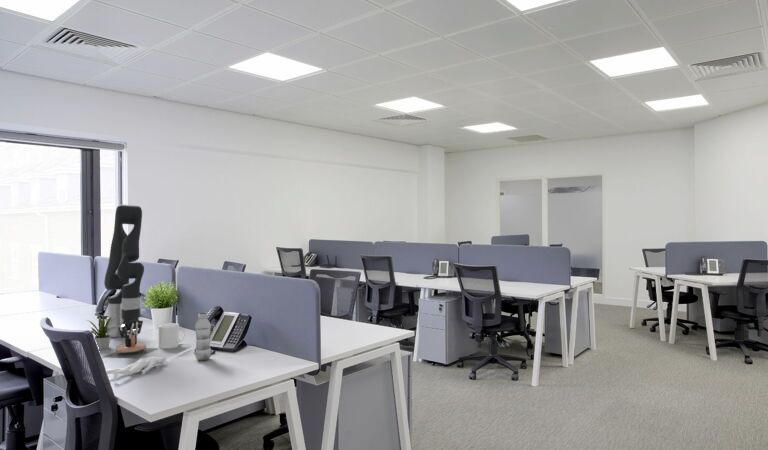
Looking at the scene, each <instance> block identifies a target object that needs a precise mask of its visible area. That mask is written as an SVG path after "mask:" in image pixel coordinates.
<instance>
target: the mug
mask: <svg viewBox="0 0 768 450" xmlns="http://www.w3.org/2000/svg"><path fill="white" fill-rule="evenodd" d="M179 325H180V324H179V323H176V322H175V323H174V322H173V323H171V322H170V323H164V324H160V325H158V349H164V350H169V349H173V348H177V347H179V344H180V343H181V342H183V341H184V339H185V336H186V335H185V334H186V333H185V329H184V328H183V327H181V326H179ZM179 331H182V332H183V336H182V337H181V338H180V337H179V336H180V335H179V334H180V333H179ZM179 338H180V339H179Z"/></svg>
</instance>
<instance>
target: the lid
mask: <svg viewBox="0 0 768 450" xmlns="http://www.w3.org/2000/svg"><path fill="white" fill-rule="evenodd" d="M145 348H147V344H146V343H144V342H137V344H136V345H135V334H131V347H126V346H125V343H123V344H120V345H118V346H116V347H115V352H120V353H130V352H137V351H141V350H144V349H145Z"/></svg>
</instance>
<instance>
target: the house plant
mask: <svg viewBox="0 0 768 450" xmlns="http://www.w3.org/2000/svg"><path fill="white" fill-rule="evenodd" d="M101 317H102V318H101ZM112 317H113V316H112ZM112 317H110V318H109V319H108V321H107V322H106V320H105V317H104V316H103V315H101V316H100V315H98V327H97V326H96V324H94V323H93V322H92V321H90V320H88V319H86V321H87V322H89V323H90V324H91V325H92V326H93V327H94V328H93V327H91V330H90V331H91V332H90V333H92V334H94V337H95V340H96V342H97V345H98V347H99V350H98V351H102V350H107V349H109V347H110V343H111V338H112V337H111V335H106V333H107V334H108V332H107V331H110V330H109V329H111V328H109V327H110V326H109V327H108V325H109V324H110V323H111V321H112V320H111V318H112ZM116 318H118V317H116ZM114 319H115V318H114ZM114 319H113V320H114ZM109 322H110V323H109ZM114 322H115V321H114ZM112 323H113V322H112ZM112 323H111V324H112ZM107 327H108V328H109V329H108V328H107ZM116 327H117V326H116ZM112 328H113V327H112ZM114 328H115V327H114ZM114 328H113V329H114ZM116 329H117V328H116Z"/></svg>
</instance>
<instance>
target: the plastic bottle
mask: <svg viewBox="0 0 768 450" xmlns="http://www.w3.org/2000/svg"><path fill="white" fill-rule="evenodd" d="M208 316H209V315H208V312H200V313H198V316H197V317H198V319H197V321H196V323H195V325H194V330H195V338H196V341H195V342H196V345H195V346H196V347H195V352H194V353H195V354H194V356H195V359H196V360H197V361H206V360H209V359H210V358H211V357H212V349H211V343H210V336H211V329H212V328H211V326H212V325H211V322H210V320H209V319H208Z"/></svg>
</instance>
